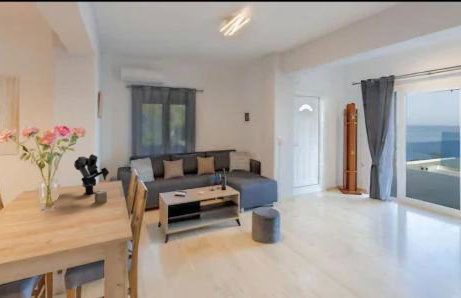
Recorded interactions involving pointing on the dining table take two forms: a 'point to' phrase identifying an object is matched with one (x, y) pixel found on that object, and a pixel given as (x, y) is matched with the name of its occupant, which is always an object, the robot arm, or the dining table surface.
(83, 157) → the robot arm
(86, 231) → the dining table surface
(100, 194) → the polished metal block
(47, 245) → the dining table surface
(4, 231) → the dining table surface
